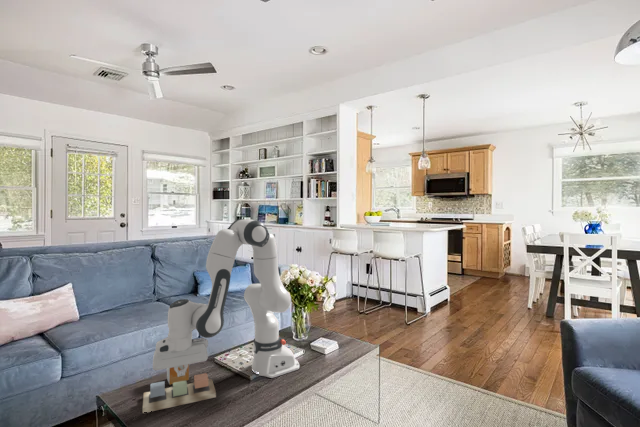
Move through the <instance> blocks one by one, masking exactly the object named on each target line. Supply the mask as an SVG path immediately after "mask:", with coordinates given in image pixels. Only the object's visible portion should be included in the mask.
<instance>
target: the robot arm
mask: <svg viewBox="0 0 640 427" xmlns="http://www.w3.org/2000/svg"><path fill="white" fill-rule="evenodd" d="M242 245H250V246H251V247H252V253H253V254H252V256H253V257H252V258H253V275H254V276H255V277H256V278H257V280H258V282H259V283H250V284H249V285H247V287H246V288H245V290H244V292H243V293H244V294H243V298H244V300H245V302H246V303H247V305H248V307H249V309H250V312H251V314H252V318H253V323H254V338H253V344H252V345H253V359H252V364H251V367H252V369H253V370H254V371H257V372H259V375H258V376H259V377H261V376H262V377H265V378H266V377H267V378H271V379H274V378H276V377H279V376H282V375H285V374H289V373H291V372H295V371H297V370H299V369H300V362H299V361H298V359H296V358H295V354H294V353H293V351H292V350H291V349H290V348H289V347H287V346H286V343H287V341H286V340H285V339H283V338H282V337H281V336H280V335H279V334H280V332H279V329H280V328H279V327H280V325H279V324H280V322H279V320H278V318H277V317H276V315H275V313H277V314H280V313H281V314H282V313H285V312H287V311H288V310H289V308H290V306H291V305H292V297H291V294H290V293H289V291H288V290H287V289H286V287H285V286H284V284H283V281H282V278H281V276H280V272H279V261H278V260H279V257H278V246H277V240H276V236H275V235H274V234H273V233H271V232H269V230H268V227H267V226H266V225H265V224H264V223H263V222H261V220H260V221H259V220H255V219H252V218H248V219H244V218H239V219H236V220H234V221H233V222H232V223H231V224H230V225H229V226H228V227H227V228H223V229H220V230H219V231H218V232H217V233H216V235H215V237H214V239H213V241H212V244H211V245H210V249H209V250H208V254H207V257H206V262H205V270H206V271H207V273H208V276H209V277H210V280H211V281H210V282H211V290H210V294H209V298H208V303H199V302H193V301H191V300H190V299H187V298H184V299H183V298H181V299H178V300H176V301H173V303H171V304H170V305H169V307H168V310H167V327H168V334H167V337H165V338H163V339H160V340H158V341H157V342H156V343H155V350H154V352H153V356H152V370H153V371H156V372H157V371H161V370H167V369H168V368H173V367H174V370H175V371H176V373H177V377H180V376H185V371H186V370H187V368H188V364H189V365H191V364H192V365H193V364H197V363H203V362H206V361H207V360H208V357H209V356H208V347H209V340H208V339H210V338H213V337H216V336H217V335H218V334H220V332H221V331H222V330H223V327H224V325H225V324H224V323H225V319H224V318H225V317H224V311H225V310H224V309H225V305H226V300H227V297H228V293H229V288H230V283H231V277H232V271H233V267H234V263H235V259H236V257H237V253H238V251H239V248H241V246H242ZM194 330H195V331H197V333H198V334H199V335H200V336H201V337H200V338H193V331H194ZM183 365H184V369H183V370H180V371H179V370H178V366H183Z"/></svg>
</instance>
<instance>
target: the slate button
mask: <svg viewBox="0 0 640 427" xmlns="http://www.w3.org/2000/svg"><path fill="white" fill-rule="evenodd" d="M165 382H166V381H165V380H164V381H163V380H162V381H158V382H152V383H150V386H149V387H150V388H149V389H150V390H149V392H150V398H153V397H158V396H163V395H165V387H166V385H165V384H166V383H165Z"/></svg>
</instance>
